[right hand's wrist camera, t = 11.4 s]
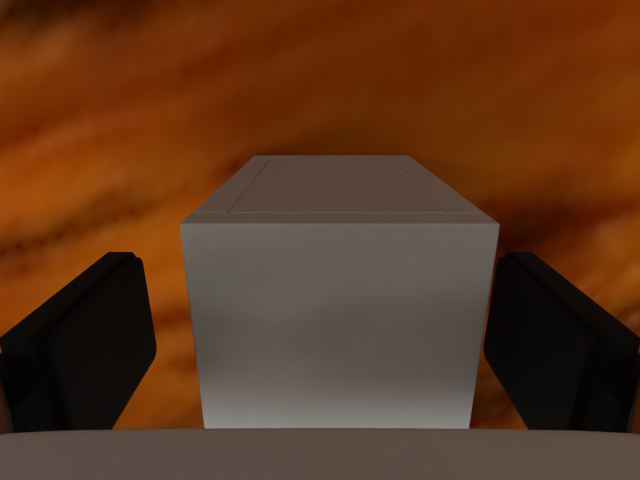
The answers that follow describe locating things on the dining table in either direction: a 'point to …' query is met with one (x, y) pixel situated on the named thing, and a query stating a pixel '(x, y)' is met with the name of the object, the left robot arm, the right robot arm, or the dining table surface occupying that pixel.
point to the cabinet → (337, 295)
